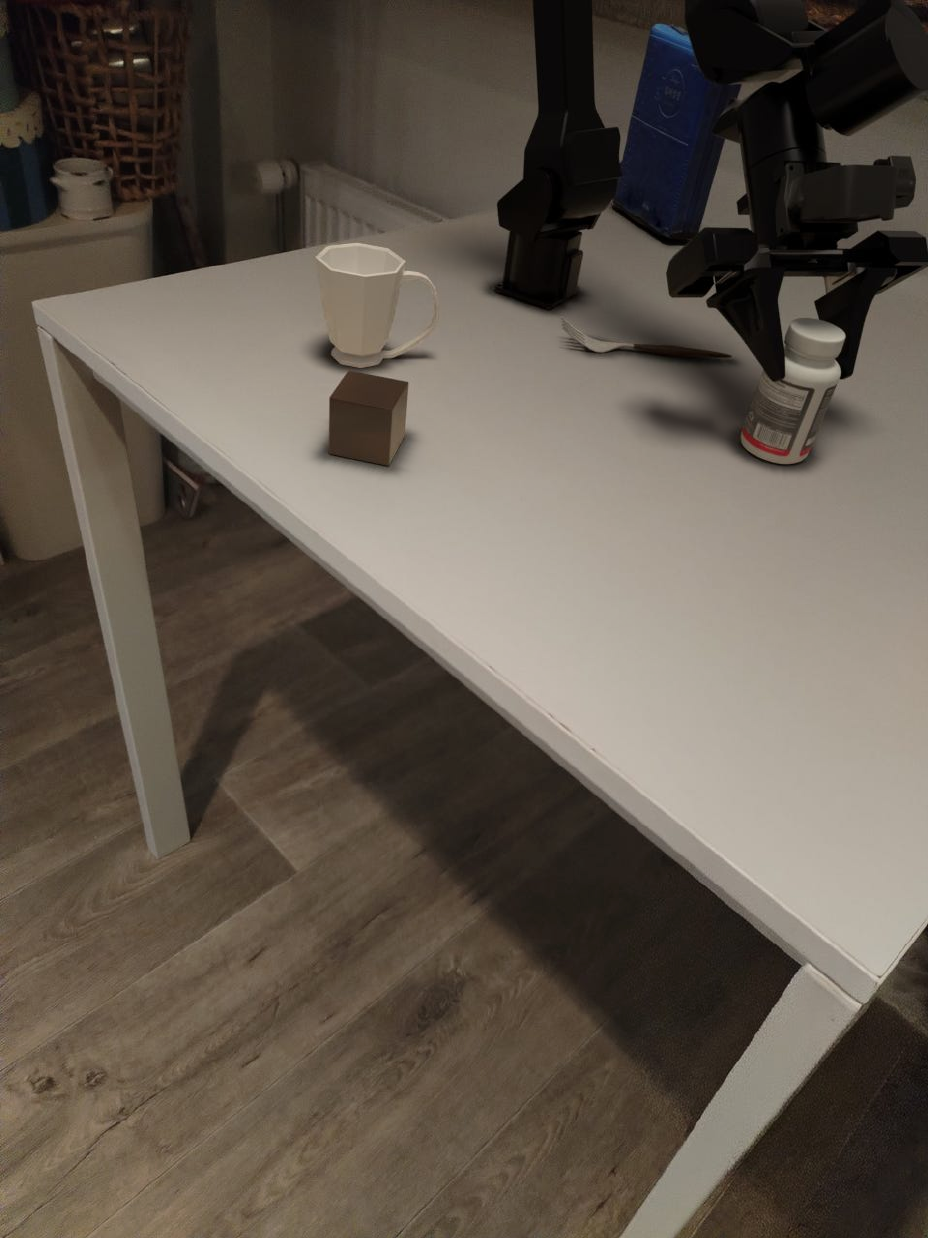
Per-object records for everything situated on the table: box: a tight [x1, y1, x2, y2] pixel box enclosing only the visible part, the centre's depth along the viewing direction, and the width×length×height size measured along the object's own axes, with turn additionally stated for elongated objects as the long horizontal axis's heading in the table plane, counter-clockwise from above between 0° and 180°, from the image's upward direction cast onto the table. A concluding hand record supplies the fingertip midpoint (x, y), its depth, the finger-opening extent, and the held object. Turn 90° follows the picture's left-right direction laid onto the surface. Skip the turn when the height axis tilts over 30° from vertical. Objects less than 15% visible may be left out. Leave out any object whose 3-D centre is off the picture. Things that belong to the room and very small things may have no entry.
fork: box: [560, 316, 732, 359], centre depth 82 cm, size 3×16×2 cm, turn 89°
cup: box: [315, 242, 440, 369], centre depth 73 cm, size 7×10×8 cm
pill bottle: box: [740, 317, 845, 465], centre depth 68 cm, size 5×5×10 cm
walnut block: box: [328, 369, 409, 467], centre depth 63 cm, size 4×4×4 cm
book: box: [611, 23, 743, 240], centre depth 104 cm, size 14×5×20 cm, turn 23°
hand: (812, 378), depth 66 cm, fingers closed on pill bottle, 5 cm apart
